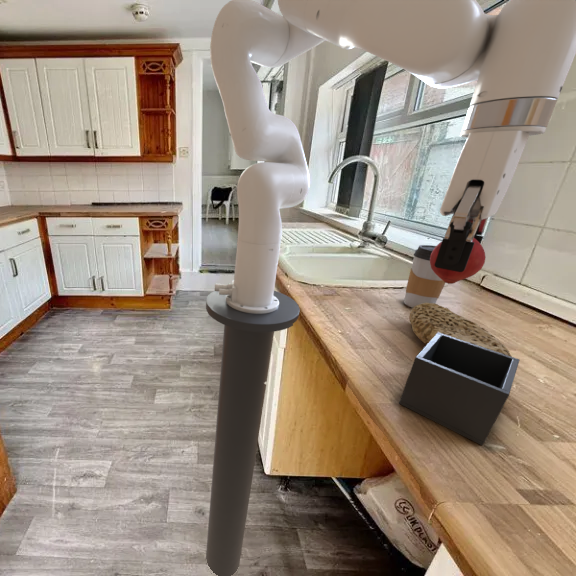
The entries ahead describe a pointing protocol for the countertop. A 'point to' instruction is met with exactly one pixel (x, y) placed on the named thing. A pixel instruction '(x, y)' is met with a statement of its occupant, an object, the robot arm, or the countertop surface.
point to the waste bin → (459, 385)
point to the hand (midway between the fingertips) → (454, 263)
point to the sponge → (450, 327)
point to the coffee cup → (423, 279)
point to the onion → (471, 268)
